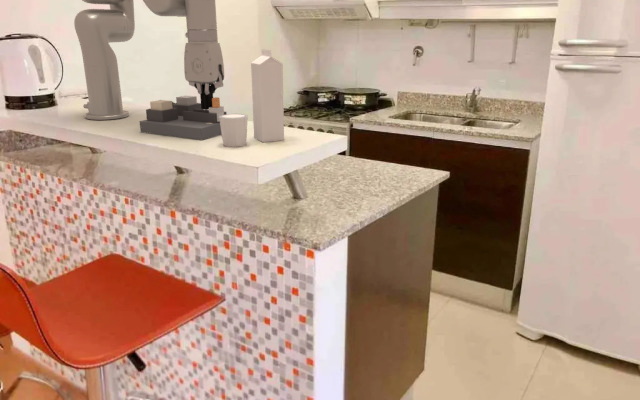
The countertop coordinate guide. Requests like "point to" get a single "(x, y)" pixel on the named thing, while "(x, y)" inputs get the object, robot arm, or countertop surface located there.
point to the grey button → (186, 100)
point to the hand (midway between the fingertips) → (207, 108)
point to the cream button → (161, 105)
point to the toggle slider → (216, 108)
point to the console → (182, 122)
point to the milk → (267, 98)
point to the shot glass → (234, 129)
